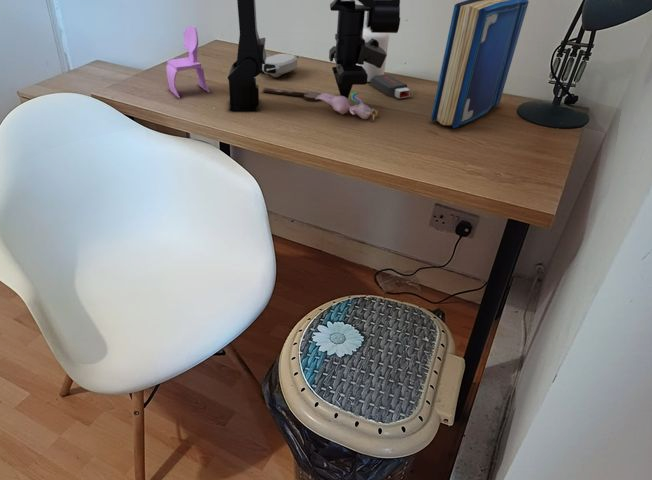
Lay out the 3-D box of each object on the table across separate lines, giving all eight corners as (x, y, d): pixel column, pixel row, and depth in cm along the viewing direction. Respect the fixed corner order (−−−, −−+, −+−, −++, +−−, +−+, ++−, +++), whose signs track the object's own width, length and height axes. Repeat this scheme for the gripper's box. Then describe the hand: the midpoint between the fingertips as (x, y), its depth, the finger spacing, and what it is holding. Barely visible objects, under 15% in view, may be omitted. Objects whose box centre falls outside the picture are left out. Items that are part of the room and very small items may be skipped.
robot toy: (235, 76, 146) (281, 82, 139) (234, 59, 143) (280, 64, 137) (260, 64, 154) (304, 70, 148) (259, 48, 152) (304, 53, 145)
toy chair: (166, 89, 135) (158, 26, 126) (198, 83, 139) (193, 22, 129) (178, 99, 130) (170, 35, 120) (211, 93, 133) (206, 30, 124)
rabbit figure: (377, 119, 125) (319, 99, 128) (384, 95, 121) (324, 75, 124) (369, 129, 121) (310, 108, 123) (377, 105, 117) (315, 84, 119)
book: (477, 99, 133) (504, -12, 117) (503, 107, 129) (534, -7, 113) (428, 122, 121) (451, 2, 105) (455, 132, 117) (484, 8, 101)
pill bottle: (382, 84, 141) (390, 23, 131) (352, 81, 142) (358, 21, 132) (384, 74, 147) (392, 15, 137) (355, 72, 148) (361, 13, 138)
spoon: (260, 94, 133) (260, 90, 132) (266, 89, 136) (266, 84, 136) (318, 102, 130) (319, 97, 129) (323, 96, 133) (323, 91, 132)
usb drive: (386, 82, 142) (388, 71, 140) (412, 97, 133) (414, 86, 131) (370, 84, 140) (371, 74, 138) (395, 100, 131) (396, 89, 130)
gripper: (395, 44, 109) (385, 116, 119) (378, 20, 123) (370, 86, 133) (341, 44, 109) (336, 117, 119) (330, 20, 123) (326, 87, 133)
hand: (344, 101), depth 126 cm, fingers closed
